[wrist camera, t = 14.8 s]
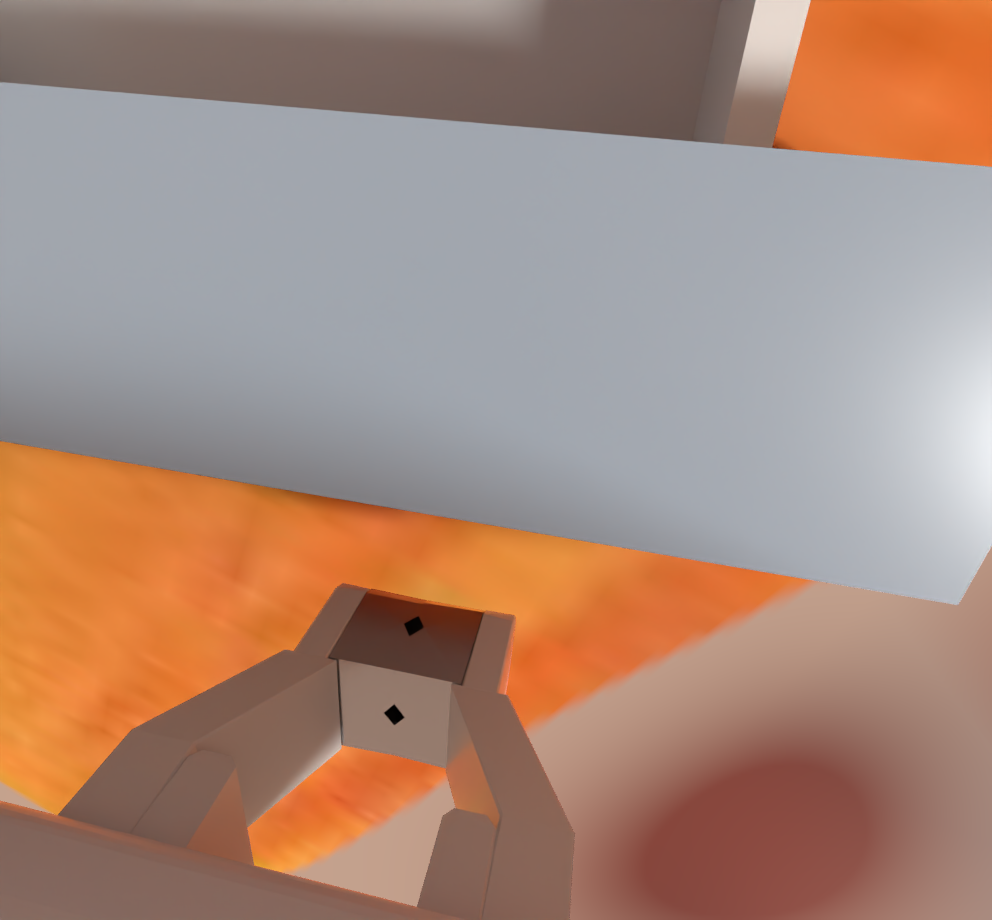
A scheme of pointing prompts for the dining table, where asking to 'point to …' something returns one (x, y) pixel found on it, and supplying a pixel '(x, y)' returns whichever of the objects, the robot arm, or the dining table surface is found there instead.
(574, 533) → the drawer
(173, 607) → the dining table surface
